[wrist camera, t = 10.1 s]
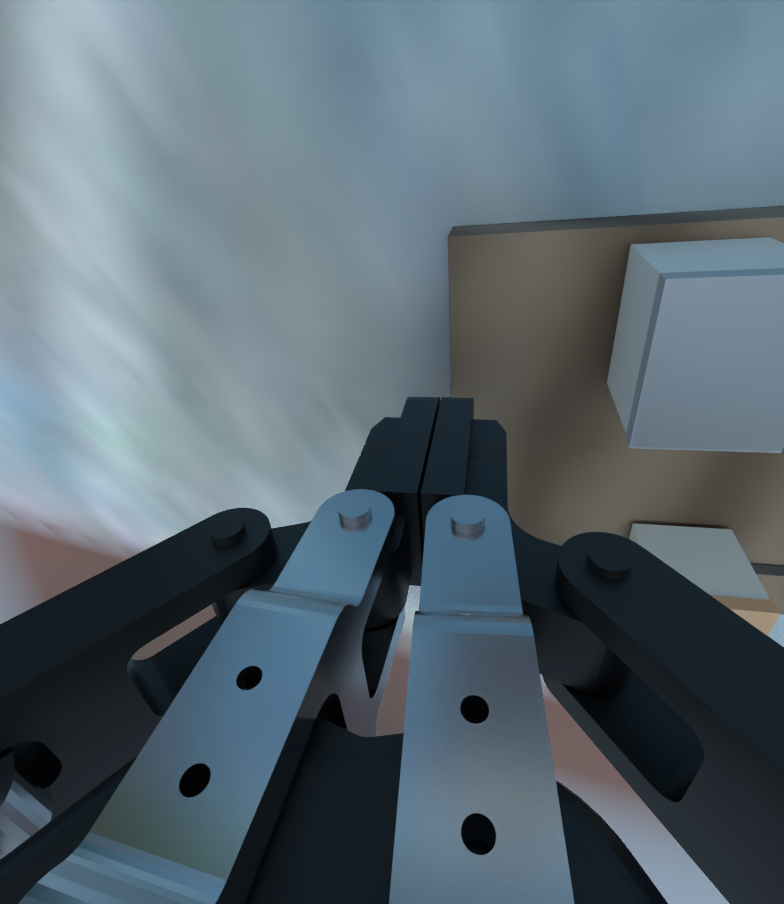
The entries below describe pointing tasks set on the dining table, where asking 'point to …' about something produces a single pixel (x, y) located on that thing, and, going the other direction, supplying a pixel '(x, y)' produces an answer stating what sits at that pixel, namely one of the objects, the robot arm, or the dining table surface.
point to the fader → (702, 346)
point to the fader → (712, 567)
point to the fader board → (594, 384)
